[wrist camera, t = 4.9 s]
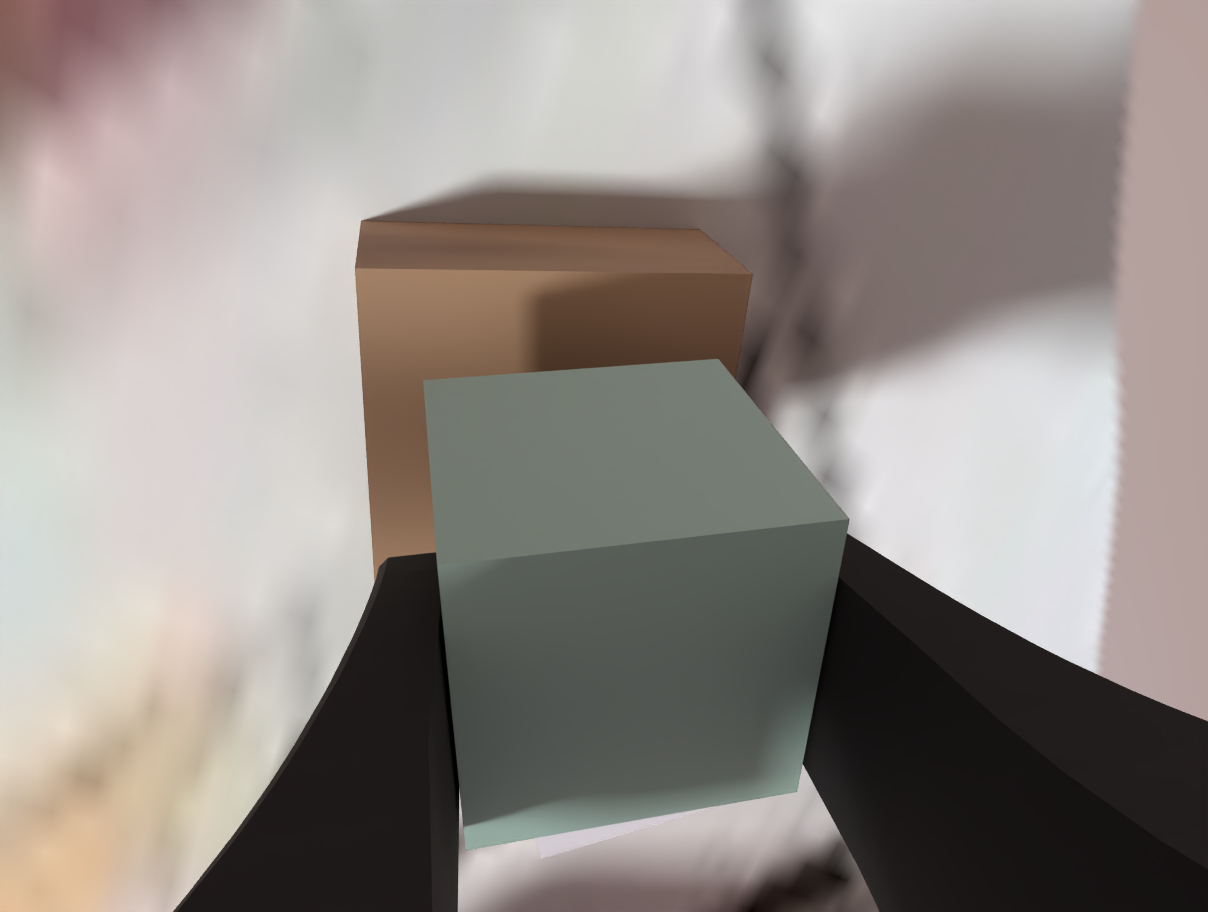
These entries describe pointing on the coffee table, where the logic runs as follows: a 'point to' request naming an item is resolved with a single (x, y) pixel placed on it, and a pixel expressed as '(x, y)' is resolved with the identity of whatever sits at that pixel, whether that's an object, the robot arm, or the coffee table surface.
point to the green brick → (624, 594)
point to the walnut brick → (518, 327)
